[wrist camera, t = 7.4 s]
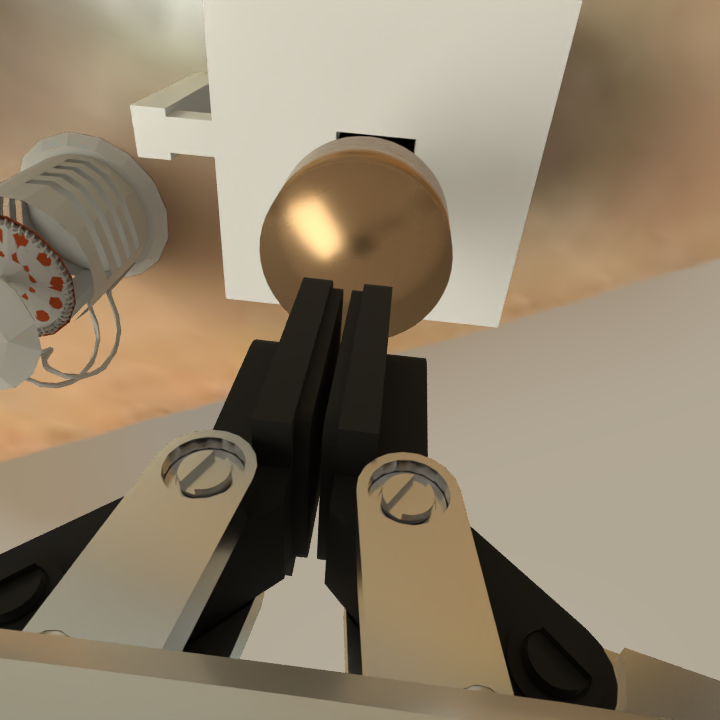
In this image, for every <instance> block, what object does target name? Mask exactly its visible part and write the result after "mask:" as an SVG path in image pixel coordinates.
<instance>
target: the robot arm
mask: <svg viewBox="0 0 720 720" xmlns="http://www.w3.org/2000/svg"><path fill="white" fill-rule="evenodd" d="M392 290H393V287H390V286H381V285H372V284H364V288H363V291H357V290H352V293H351V297H350V302H349V307H348V311H347V316H346V321H345V325H344V330H343V335H342V340H341V327H342V311H343V294H344V292H343V289H338V288H333V280H326V279H316V278H307V277H304V278H303V280H302V283H301V286H300V288H299V291H298V294H297V296H296V299H295V302H294V304H293V307H292V310H291V312H290V315H289V318H288V320H287V323H286V326H285V328H284V331H283V334H282V336H281V339H280V342H274V341H265V340H254V341H253V342H252V344H251V345H250V348H249V350H248V352H247V354H246V357H245V359H244V361H243V363H242V366H241V368H240V370H239V372H238V375H237V377H236V379H235V381H234V383H233V386H232V388H231V390H230V392H229V395H228V397H227V399H226V401H225V404H224V406H223V408H222V410H221V413H220V415H219V417H218V419H217V422H216V424H215V426H214V428H213V430H204V431H195V432H192V433H189V434H186V435H183V436H180V437H178V438H176V439H175V440H173V441H171V442H170V443H168V444H166V445H165V446H164V447H163V448H162V449H161V450H160V451H159V452H158V453H157V454H156V456H155V457H154V458H153V460H152V461H151V462H150V464H149V465H148V466H147V467H146V469H145V470H144V471H143V473H142V474H141V475H140V477H139V478H138V479H137V481H136V482H135V483H134V485H133V486H132V487H131V488H130V490H129V491H128V492H127V494H126V495H125V496H124V497H122V498H120V499H117V500H115V501H113V502H111V503H109V504H107V505H104V506H102V507H100V508H98V509H96V510H94V511H92V512H90V513H88V514H85V515H83V516H81V517H79V518H77V519H75V520H72V521H70V522H68V523H66V524H64V525H62V526H60V527H58V528H55V529H53V530H51V531H49V532H47V533H45V534H43V535H40V536H38V537H36V538H34V539H32V540H30V541H28V542H26V543H23V544H21V545H19V546H17V547H15V548H13V549H11V550H9V551H6V552H4V553H2V554H0V720H720V681H718V680H716V679H713V678H710V677H707V676H704V675H701V674H698V673H696V672H693V671H690V670H687V669H684V668H681V667H678V666H675V665H673V664H670V663H667V662H664V661H661V660H658V659H656V658H653V657H650V656H647V655H644V654H641V653H638V652H635V651H633V650H630V649H627V648H624V649H623V650H622V652H621V653H620V654H618V653H615V652H612V651H609V650H606V649H604V648H603V647H602V646H601V645H600V644H599V642H598V641H597V640H596V639H595V638H594V637H593V636H592V635H591V634H590V632H589V631H588V630H587V629H586V628H585V627H583V626H582V625H581V624H580V623H579V622H578V621H577V620H576V619H574V618H573V617H572V616H571V615H570V614H569V613H568V612H567V611H565V610H564V609H563V608H562V607H561V606H560V605H559V604H558V603H556V602H555V601H554V600H553V599H552V598H551V597H550V596H548V595H547V594H546V593H545V592H544V591H543V590H542V589H541V588H539V587H538V586H537V585H536V584H535V583H534V582H533V581H532V580H530V579H529V578H528V577H527V576H526V575H525V574H524V573H523V572H521V571H520V570H519V569H518V568H517V567H516V566H515V565H513V564H512V563H511V562H510V561H509V560H508V559H507V558H506V557H504V556H503V555H502V554H501V553H500V552H499V551H498V550H497V549H495V548H494V547H493V546H492V545H491V544H490V543H489V542H488V541H486V540H485V539H484V538H483V537H482V536H481V535H480V534H479V533H477V532H476V531H475V530H474V529H473V528H472V527H471V526H470V524H469V520H468V516H467V513H466V509H465V505H464V501H463V497H462V493H461V490H460V488H459V486H458V483H457V481H456V479H455V478H454V476H453V475H452V474H451V473H450V472H449V471H448V470H447V469H446V468H445V467H444V466H442V465H441V464H439V463H438V462H436V461H435V460H433V459H430V458H428V450H427V449H428V445H427V443H428V440H427V361H426V359H425V358H417V357H408V356H399V355H390V354H387V345H388V334H389V323H390V312H391V301H392ZM340 343H341V344H340ZM319 496H320V502H319V524H318V525H319V526H318V547H317V559H321V560H326V571H325V584H326V586H327V587H328V588H329V589H330V591H331V592H332V593H333V594H334V595H335V597H336V598H337V599H338V600H339V602H340V603H341V604H342V605H343V606H344V617H343V618H344V647H345V673H341V672H334V671H326V670H318V669H311V668H303V667H295V666H288V665H280V664H273V663H265V662H257V661H250V660H242V659H240V657H241V654H242V652H243V649H244V647H245V645H246V642H247V640H248V637H249V635H250V633H251V630H252V628H253V625H254V623H255V620H256V618H257V616H258V613H259V611H260V608H261V605H262V601H263V597H264V591H266V590H267V589H269V588H270V587H272V586H273V585H275V584H276V583H278V582H279V581H281V580H282V579H284V576H285V575H289V576H292V573H293V568H294V563H295V558H296V556H297V557H306V558H307V556H308V553H309V548H310V543H311V537H312V532H313V527H314V522H315V517H316V511H317V506H318V501H319Z"/></svg>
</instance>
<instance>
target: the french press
mask: <svg viewBox="0 0 720 720" xmlns="http://www.w3.org/2000/svg"><path fill="white" fill-rule="evenodd" d="M4 197H6V198H9V200H8V210H9V217H7V216H3V198H4ZM15 199H18V200H20V201H21V218H22V224H23V225H22V224H20V223H19V222H17V220H16V207H15ZM167 240H168V224H167V210H166V208H165V206H164V203H163V201H162V199H161V196H160V194H159V192H158V190H157V187H156V185H155V183H154V181H153V180H152V179H151V178H150V177H149V176H148V174H147V173H146V172H145V171H144V170H143V169H142V168H141V167H140V166H139V164H138V163H137V162H136V161H135V160H134V159H133V158H132V157H131V156H130V155H129V154H127V153H125V152H124V151H122V150H120V149H118V148H117V147H115V146H113V145H112V144H110V143H108V142H107V141H105V140H103V139H102V138H99V137H94V136H88V135H83V134H78V133H73V132H66V133H62V134H58V135H54V136H50V137H46V138H42V139H40V140H39V142H38V143H37V144H36V145H35V146H34V147H33V148H32V149H31V150H30V151H29V152H28V153H27V154H26V155H25V156H24V157H23V160H22V165H21V169H20V173H18V174H16V175H14V176H12V177H10V178H8V179H7V180H5V181H3V182H1V183H0V390H2V389H9V388H15V387H16V386H17V385H19V384H20V383H21V382H23V381H24V380H26V381H28V382H31V383H33V384H35V385H37V386H40V387H48V388H60V387H64V386H68V385H71V384H73V383H75V382H77V381H79V380H80V379H84V378H87V377H90V376H93V375H96V374H98V373H100V372H101V371H103V370H105V369H106V367H107V366H108V364H109V363H110V361H111V360H112V358H113V357H114V356H115V354H116V352H117V349H118V346H119V341H120V335H121V326H120V319H119V314H118V311H117V309H116V306H115V303H114V300H113V298H112V295H111V290H112V289H113V288H114V287H115V286H116V285H117V284H118V283H119V281H120V280H121V279H122V278H124V277H129V276H134V275H139V274H141V273H143V272H144V271H145V270H147V269H148V268H149V267H151V266H152V265H153V264H154V263H156V262H157V261H158V260H159V258H160V256H161V254H162V251H163V249H164V247H165V244H166V242H167ZM71 275H74V276H75V277H74V278H73V279H72V276H71ZM106 291H107V292H106ZM105 292H106V294H107V297H108V300H109V302H110V305H111V308H112V311H113V314H114V317H115V322H116V327H117V335H116V342H115V345H114V347H113V349H112V351H111V354H110V355H109V357H108V358H107V359H106V360H105V362H104V363H103V364H102V366H101V367H99V368H98V369H96V370H94V371H92V372H90V373H86V372H87V371H88V370H89V369H90V368H91V367H92V365H93V364H94V362H95V359H96V355H97V352H98V347H99V343H100V333H99V325H98V321H97V319H96V316H95V313H94V311H93V308H92V306H93V305H94V304H95V303H96V302H97V301H98V300H99V299H100V297H101V296H102V295H103V294H104V293H105ZM86 303H87V306H88V308H87V309H86V310H85V311H84V312H83V313H82V314H81V315H80V316H79V317H81V316H82V315H83V314H85V313H86V312H87V311H88V310H89V312H90V315H91V318H92V321H93V325H94V330H95V335H96V342H95V347H94V351H93V354H92V356H91V359H90V361H89V363H88V364H87V366H86V367H85V368H84V369H83V370H82V372H81V373H80V374H67V373H62V372H60V371H58V370H56V369H54V368H52V367H50V366H49V364H48V363H47V359H48V358H49V356H50V355H51V354H52V352H53V348H51V347H49V348H46V349H43V350H41V346H40V341H39V337H41V336H47V335H53V334H55V333H56V332H58V331H59V330H60V329H61V328H63V327H64V326H65V325H67V324H68V323H69V322H70V319H71V318H72V317H73V316H74V315H75V314H76V313H77V312H78V311H79V310H80V309H81V308H82V307H83V306H84V305H85V304H86ZM79 317H78V318H79ZM78 318H77V319H78ZM40 356H41V358H42V364H43V367H44V368H45V370H46V371H48V372H51V373H53V374H55V375H58V376H60V377H63V378H66V379H70V380H67V381H63V382H60V383H46V382H39V381H37V380H34V379H32V378H29V377H30V376H31V375H32V374H33V373H34V370H35V368H36V365H37V363H38V360H39V357H40Z"/></svg>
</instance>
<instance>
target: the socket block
mask: <svg viewBox="0 0 720 720" xmlns="http://www.w3.org/2000/svg"><path fill="white" fill-rule="evenodd" d="M582 1H583V0H202V4H203V16H204V29H205V42H206V54H207V67H208V73H200V72H196V73H194V74H192V75H190V76H188V77H186V78H184V79H182V80H180V81H178V82H176V83H174V84H172V85H170V86H168V87H166V88H164V89H162V90H160V91H158V92H155V93H153V94H151V95H149V96H147V97H145V98H143V99H141V100H139V101H137V102H135V103H133V104H131V105H130V109H131V115H132V122H133V128H134V134H135V141H136V147H137V153H138V157H144V158H154V159H164V160H172V159H173V158H175V157H176V156H177V155H178V154H188V155H198V156H208V157H215V167H216V180H217V192H218V205H219V217H220V230H221V242H222V255H223V268H224V280H225V293H226V299H235V300H244V301H254V302H263V303H273V304H280V303H279V302H278V300H277V299H276V298H275V296H274V295H273V293H272V291H271V290H270V288H269V286H268V284H267V282H266V279H265V276H264V274H263V270H262V266H261V261H260V252H259V248H260V235H261V230H262V226H263V223H264V220H265V217H266V215H267V213H268V211H269V209H270V207H271V205H272V203H273V201H274V200H275V198H276V197H277V195H278V193H279V192H280V190H281V188H282V187H283V185H284V183H285V182H286V180H287V178H288V177H289V175H290V174H291V172H292V171H293V169H294V168H295V167H296V165H297V164H298V163H299V162H300V161H301V160H302V159H303V158H304V157H305V156H307V155H308V154H309V153H310V152H312V151H313V150H315V149H316V148H318V147H320V146H322V145H323V144H326V143H328V142H331V141H333V140H337V139H341V138H345V137H353V136H367V135H377V136H387V137H395V138H394V143H396V144H398V145H400V146H403V147H405V148H406V149H408V150H409V151H411V152H412V153H414V154H415V155H416V156H417V157H419V158H420V159H421V160H422V161H423V162H424V163H425V164H426V165H427V166H428V167H429V168H430V170H431V171H432V172H433V174H434V175H435V177H436V178H437V180H438V182H439V184H440V186H441V188H442V190H443V193H444V196H445V199H446V203H447V209H448V216H449V224H450V232H451V240H452V249H453V262H452V270H451V274H450V278H449V282H448V284H447V287H446V289H445V292H444V294H443V295H442V297H441V299H440V300H439V302H438V303H437V305H436V306H435V307H434V308H433V310H432V311H431V312H430V313H429V314H428V315H427V316H426V317H425V318H424V319H423V320H433V321H442V322H451V323H461V324H470V325H480V326H489V327H498V325H499V321H500V317H501V313H502V310H503V306H504V302H505V298H506V294H507V290H508V287H509V283H510V279H511V275H512V271H513V267H514V263H515V260H516V256H517V252H518V248H519V244H520V240H521V236H522V233H523V229H524V225H525V221H526V217H527V213H528V209H529V206H530V202H531V198H532V194H533V190H534V186H535V182H536V179H537V175H538V171H539V167H540V163H541V159H542V155H543V152H544V148H545V144H546V140H547V136H548V132H549V128H550V125H551V121H552V117H553V113H554V109H555V105H556V101H557V98H558V94H559V90H560V86H561V82H562V78H563V74H564V71H565V67H566V63H567V59H568V55H569V51H570V47H571V44H572V40H573V36H574V32H575V28H576V24H577V21H578V17H579V13H580V9H581V5H582Z"/></svg>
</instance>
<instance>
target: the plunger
mask: <svg viewBox="0 0 720 720" xmlns="http://www.w3.org/2000/svg"><path fill="white" fill-rule="evenodd" d="M394 138H395V137H387V136H377V135H367V136H353V137H345V138H341V139H337V140H333V141H331V142H328V143H326V144H323V145H322V146H320V147H318V148H316V149H315V150H313V151H312V152H310V153H309V154H308V155H307V156H305V157H304V158H303V159H302V160H301V161H300V162H299V163H298V164H297V165H296V167H295V168H294V169H293V171H292V172H291V174H290V175H289V177H288V178H287V180H286V182H285V183H284V185H283V187H282V188H281V190H280V192H279V193H278V195H277V197H276V198H275V200H274V201H273V203H272V205H271V207H270V209H269V211H268V213H267V215H266V217H265V220H264V223H263V226H262V230H261V235H260V248H259V252H260V261H261V266H262V270H263V274H264V276H265V279H266V282H267V284H268V286H269V288H270V290H271V291H272V293H273V295H274V296H275V298H276V299H277V300H278V302H279V303H280V304H281V306H282V307H283V308H284V309H285V310H286V311H287V312H288V313H289V314H290V312H291V310H292V307H293V304H294V302H295V299H296V296H297V294H298V291H299V288H300V286H301V283H302V280H303V278H304V277H307V278H316V279H326V280H333V288H338V289H343V292H344V294H343V311H342V327H341V340H342V335H343V330H344V325H345V321H346V316H347V311H348V307H349V302H350V297H351V293H352V290H357V291H363V288H364V284H372V285H381V286H390V287H393V290H392V301H391V312H390V323H389V334H388V337H391V336H394V335H397V334H399V333H401V332H404V331H406V330H408V329H409V328H411V327H413V326H414V325H416V324H417V323H418V322H420V321H421V320H422V319H424V318H425V317H426V316H427V315H428V314H429V313H430V312H431V311H432V310H433V308H434V307H435V306H436V305H437V303H438V302H439V300H440V299H441V297H442V295H443V294H444V292H445V289H446V287H447V284H448V282H449V278H450V274H451V270H452V262H453V249H452V240H451V232H450V224H449V216H448V209H447V203H446V199H445V196H444V193H443V190H442V188H441V186H440V184H439V182H438V180H437V178H436V177H435V175H434V174H433V172H432V171H431V170H430V168H429V167H428V166H427V165H426V164H425V163H424V162H423V161H422V160H421V159H420V158H419V157H417V156H416V155H415V154H414V153H412V152H411V151H409V150H408V149H406V148H405V147H403V146H400V145H398V144H396V143H394Z"/></svg>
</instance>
